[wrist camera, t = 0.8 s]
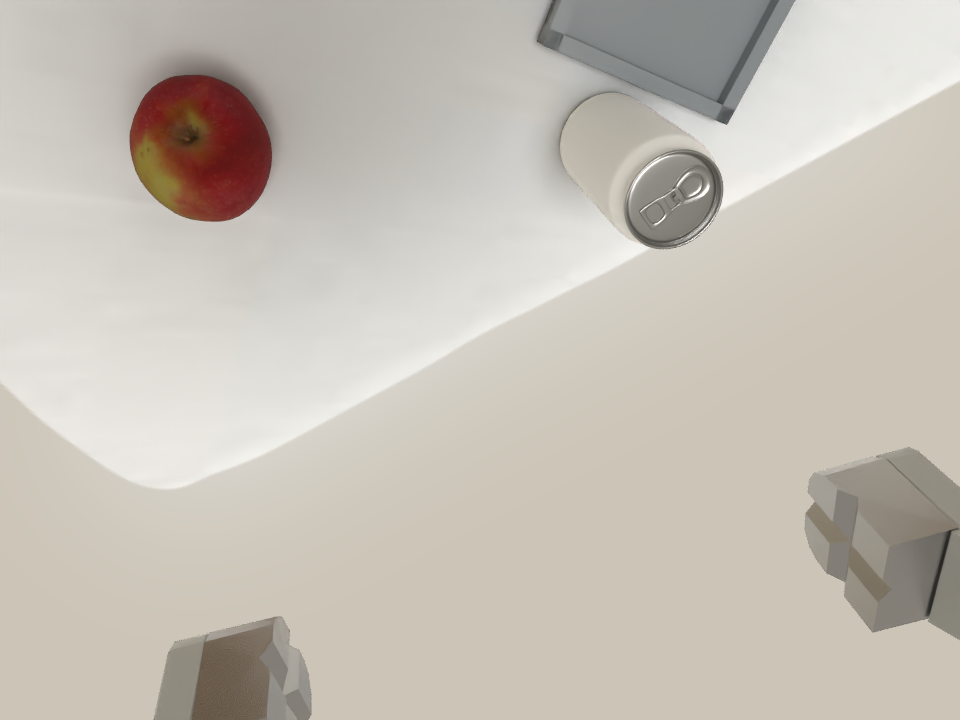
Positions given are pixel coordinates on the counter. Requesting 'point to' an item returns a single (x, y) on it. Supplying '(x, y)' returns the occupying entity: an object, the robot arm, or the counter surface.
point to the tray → (671, 45)
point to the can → (641, 171)
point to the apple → (200, 148)
